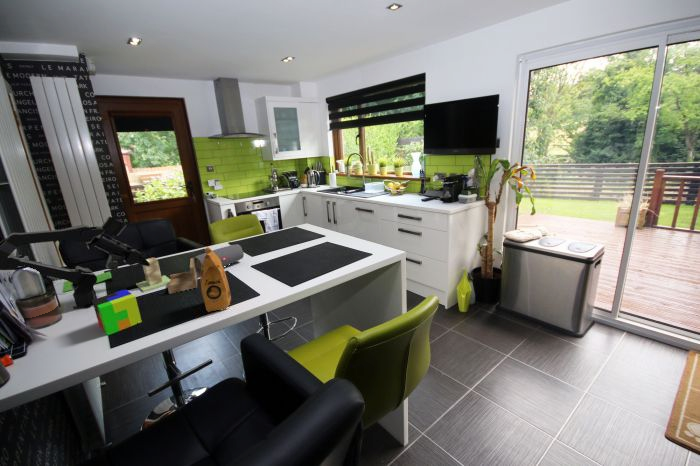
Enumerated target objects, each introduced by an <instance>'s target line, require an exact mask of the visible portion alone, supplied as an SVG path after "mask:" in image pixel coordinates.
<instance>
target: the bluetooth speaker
mask: <svg viewBox="0 0 700 466" xmlns="http://www.w3.org/2000/svg"><path fill="white" fill-rule="evenodd" d="M212 251H213V252H214V253H215V254H216V255H217V256H218V258H219V259H220V261H221V263H222V266H223V267H224V266H227V265H229V264H231V263H232V264H233V263H235V262H238V261H240V260H243V258H244V256H245V255H244V254H245V253H244V250H243V247H242V246H241V245H240V244H238V243H237V244H230V245H227V246H223V247H220V248H216V249H213V250H212ZM206 255H207V253H206V252H204V253H202V254H198V255H196V256H194V257H193V258H194V263H195V268H196V273H198V274H201V266H202V263H203V261H204V259H205V258H204V257H205V256H206ZM232 264H231V265H232Z"/></svg>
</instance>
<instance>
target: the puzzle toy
mask: <svg viewBox="0 0 700 466" xmlns="http://www.w3.org/2000/svg"><path fill="white" fill-rule="evenodd" d="M92 302H93V305H92V306H93V308H94V309H93V310H94V312H95V315H96V318H97V322H98V325H99V327H100V328H101V330H103V332H105V334H106V335H107V336H109V335H112V334H115V333H117V332H121V331H122V330H125V329H128V328H130V327H132V326H135V325H137V323H138V324H140V323H142V322H143V321H142V318H141V317H142V316H141V313H140V309H139V306H138V301H137V298H136V295H134V294H133V293H132V292H130V291H129V290H127V289H122V290H119V291H115V292H113V293H110V294H106V295H104V296H100V297H97V299H94V300H92Z"/></svg>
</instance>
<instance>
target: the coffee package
mask: <svg viewBox="0 0 700 466" xmlns="http://www.w3.org/2000/svg"><path fill="white" fill-rule="evenodd" d="M204 253H207V255H206V256H205V257H204V258H205V259H204V261H203V263H202V266H201V273H200V290H201V295H202V298H203V302H204V305H205V309H206V311H207V312H208V313H209V312H210V311H215V310H220V311H221V309H224V308H226V307H228V306H229V305H231V301H232V296H231V295H232V294H231V290H230V285H229V282H228V277H227V275H226V272H225V268H223V266H222V263H221V261H220V259H219V258H218V256H217V255H216V254H215V253H214V252H213V250H212V249H211V247H209V246H207V247H206V248H205V249H204Z"/></svg>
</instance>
